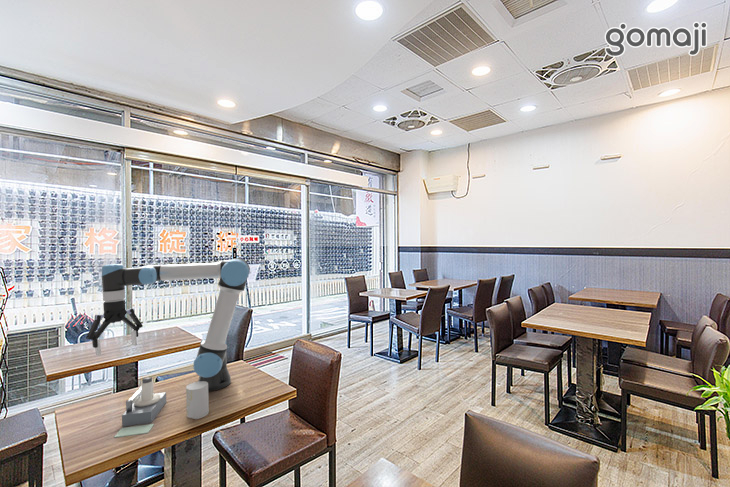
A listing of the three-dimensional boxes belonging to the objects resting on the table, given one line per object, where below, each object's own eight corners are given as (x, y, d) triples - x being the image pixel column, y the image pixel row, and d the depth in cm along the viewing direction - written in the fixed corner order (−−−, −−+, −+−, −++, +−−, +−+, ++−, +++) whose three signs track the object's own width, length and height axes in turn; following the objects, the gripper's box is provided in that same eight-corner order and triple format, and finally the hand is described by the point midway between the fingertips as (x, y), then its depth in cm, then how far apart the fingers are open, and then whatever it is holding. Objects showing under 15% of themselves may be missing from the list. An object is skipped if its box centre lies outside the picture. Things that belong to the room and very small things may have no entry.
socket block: (166, 403, 148) (166, 392, 148) (151, 424, 131) (151, 411, 131) (140, 406, 146) (140, 394, 146) (122, 428, 129) (121, 415, 129)
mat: (154, 425, 130) (154, 423, 130) (148, 434, 124) (148, 432, 124) (121, 429, 128) (121, 427, 128) (114, 439, 122) (114, 436, 122)
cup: (187, 411, 141) (187, 383, 141) (209, 407, 144) (208, 379, 144) (185, 421, 133) (185, 391, 133) (208, 416, 136) (207, 387, 136)
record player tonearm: (147, 393, 147) (147, 384, 147) (130, 411, 131) (130, 401, 131) (142, 394, 146) (141, 385, 146) (125, 412, 131) (124, 402, 130)
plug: (164, 405, 145) (163, 373, 145) (156, 416, 136) (155, 381, 136) (140, 408, 143) (139, 375, 143) (130, 419, 134) (129, 384, 134)
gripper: (140, 295, 156) (143, 340, 156) (74, 305, 134) (77, 358, 134) (149, 295, 152) (152, 342, 153) (82, 306, 130) (85, 360, 131)
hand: (117, 349), depth 144 cm, fingers open, 13 cm apart
